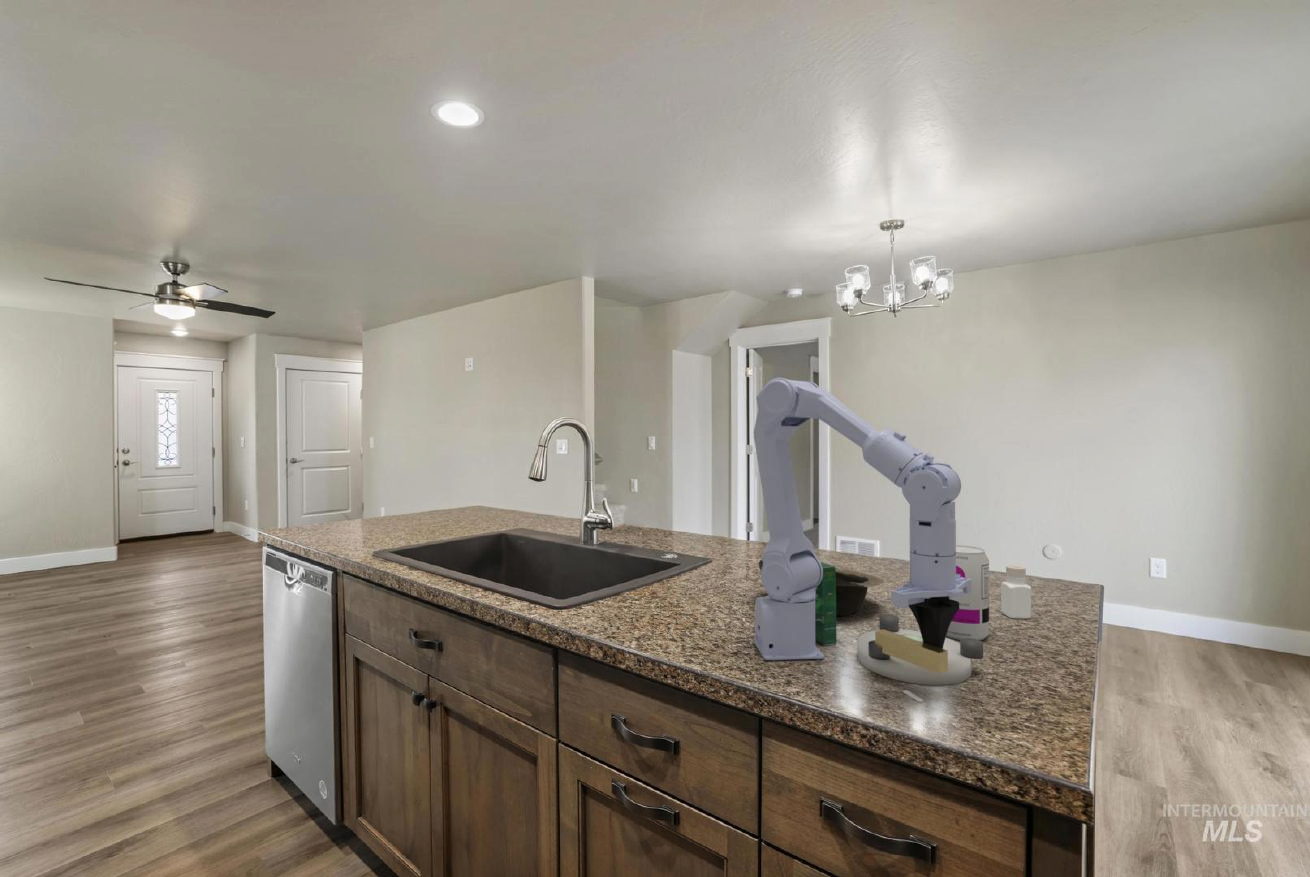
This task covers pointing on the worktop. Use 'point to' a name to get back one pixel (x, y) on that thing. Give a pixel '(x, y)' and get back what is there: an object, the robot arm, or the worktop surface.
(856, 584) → the stone bowl
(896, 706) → the worktop surface
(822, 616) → the coffee box
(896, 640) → the lever
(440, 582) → the worktop surface
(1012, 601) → the salt shaker
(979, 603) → the supplement can
